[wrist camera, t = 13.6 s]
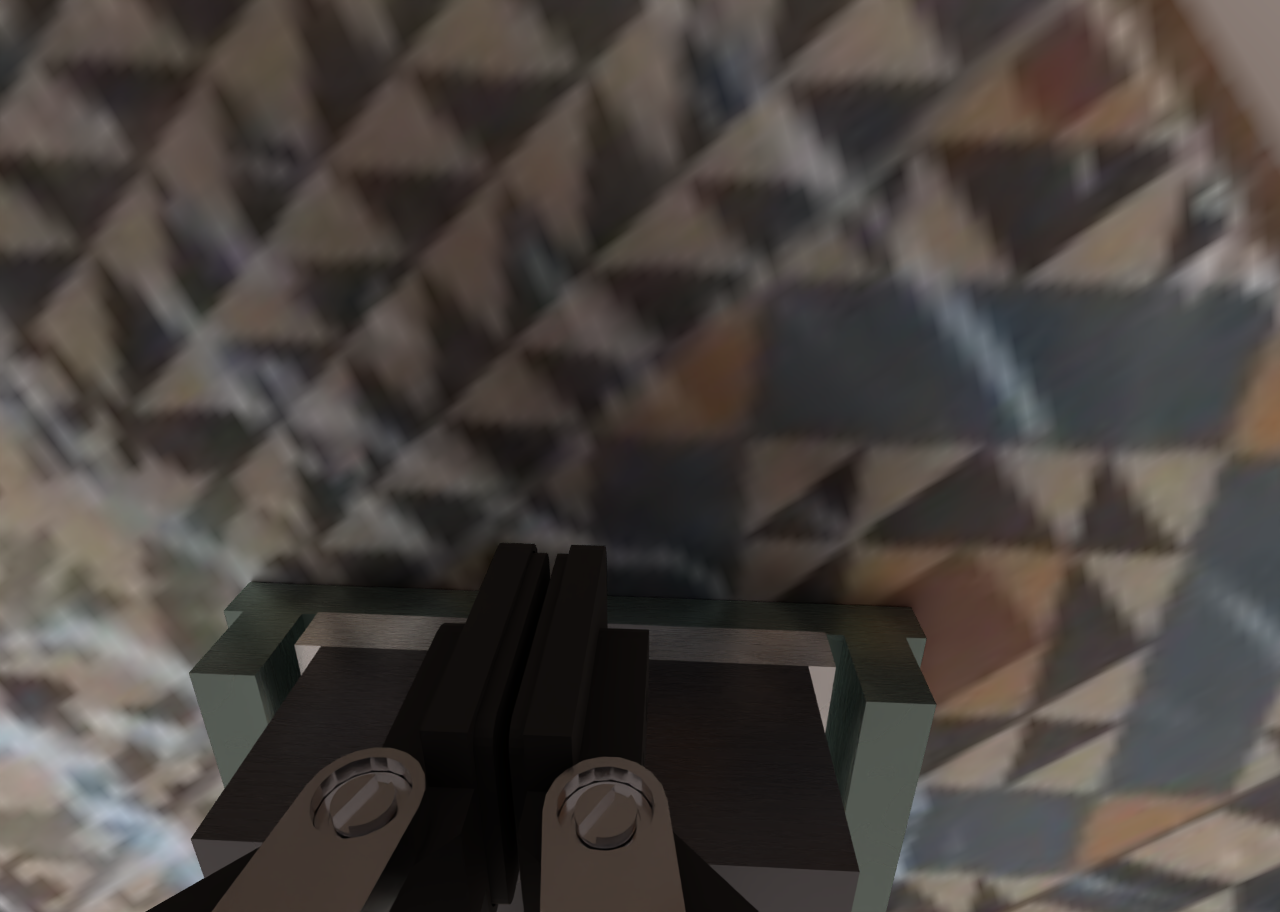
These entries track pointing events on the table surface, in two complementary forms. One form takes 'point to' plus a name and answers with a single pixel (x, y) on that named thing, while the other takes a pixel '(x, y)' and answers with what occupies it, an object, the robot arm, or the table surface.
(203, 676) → the press
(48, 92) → the table surface
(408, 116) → the table surface
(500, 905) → the sliding bed
